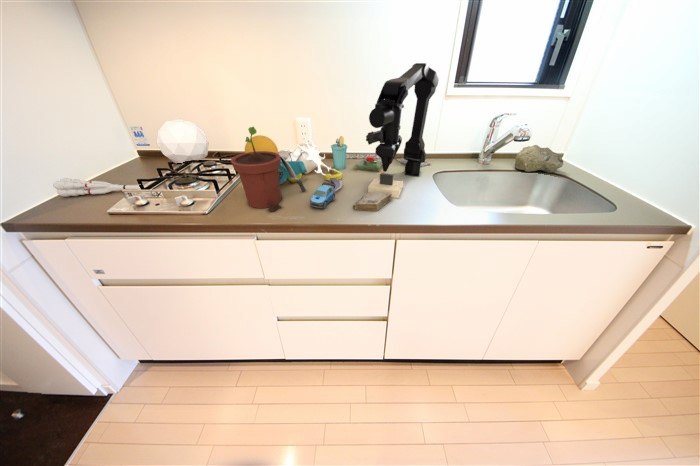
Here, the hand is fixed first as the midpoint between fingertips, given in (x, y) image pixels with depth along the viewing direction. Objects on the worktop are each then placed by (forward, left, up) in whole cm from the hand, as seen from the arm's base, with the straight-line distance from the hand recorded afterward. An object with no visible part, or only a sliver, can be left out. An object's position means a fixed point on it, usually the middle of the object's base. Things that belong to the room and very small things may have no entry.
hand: (387, 167), depth 94 cm
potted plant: (+38, +22, -10) cm, 45 cm away
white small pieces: (+44, -11, +1) cm, 46 cm away
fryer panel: (0, 0, -10) cm, 10 cm away
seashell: (+44, -7, -3) cm, 45 cm away
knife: (+22, -1, -10) cm, 25 cm away
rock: (-63, -43, -2) cm, 77 cm away
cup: (+27, -19, -10) cm, 35 cm away
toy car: (+19, +18, -10) cm, 28 cm away
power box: (+13, -25, -10) cm, 30 cm away
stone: (+2, +13, -10) cm, 16 cm away
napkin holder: (-6, -41, -10) cm, 43 cm away
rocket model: (+115, +45, -6) cm, 124 cm away
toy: (+68, -3, -5) cm, 68 cm away
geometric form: (+110, -5, -8) cm, 110 cm away
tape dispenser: (+37, +10, -6) cm, 39 cm away
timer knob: (0, 0, -7) cm, 7 cm away
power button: (+13, -25, -6) cm, 29 cm away
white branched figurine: (+34, -9, -2) cm, 35 cm away
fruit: (+39, +4, -10) cm, 40 cm away
